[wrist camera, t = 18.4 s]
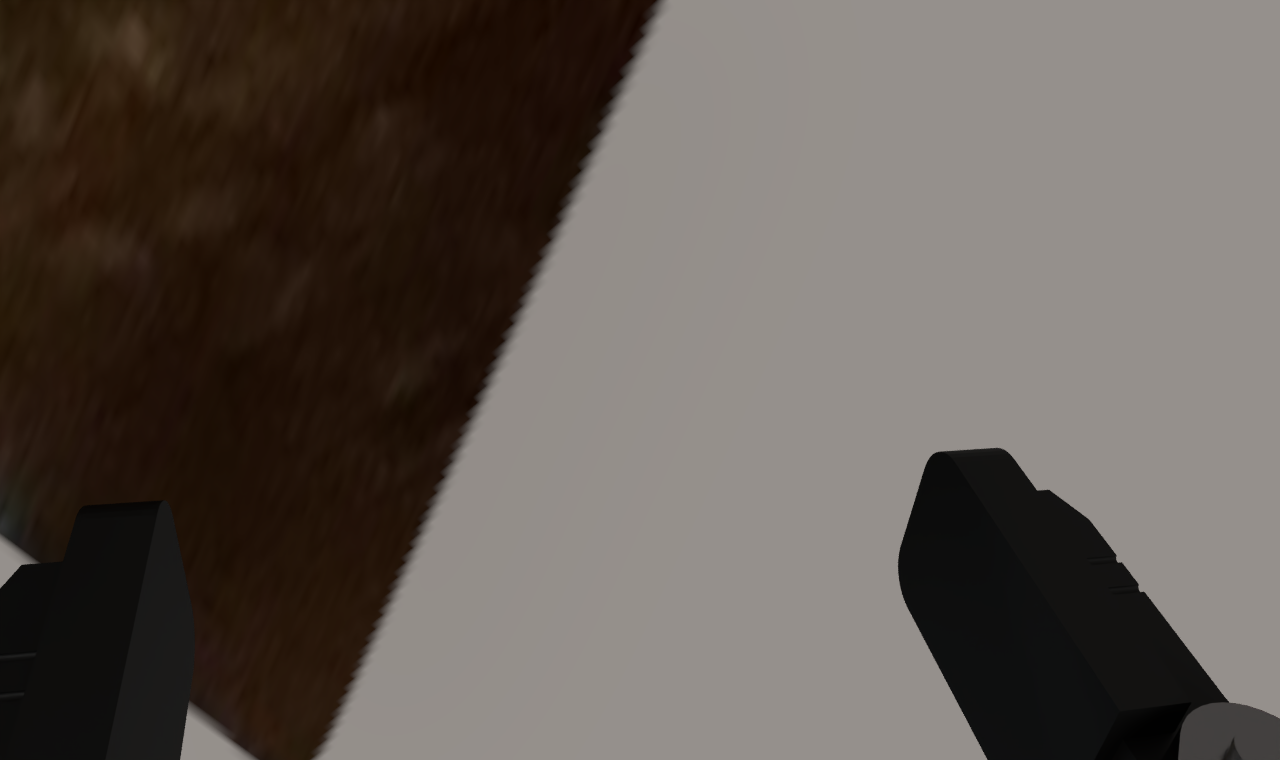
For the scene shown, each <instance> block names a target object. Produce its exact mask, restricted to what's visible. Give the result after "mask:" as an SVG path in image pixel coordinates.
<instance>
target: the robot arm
mask: <svg viewBox="0 0 1280 760" xmlns="http://www.w3.org/2000/svg"><path fill="white" fill-rule="evenodd" d="M898 573H899V581H900V587H901V591H902V595H903V598H904V600H905V603H906V605H907V607H908V609H909V611H910V613H911V615H912V617H913V619H914V621H915V622H916V625H917V626H918V628H919V630H920V632H921V634H922V636H923V638H924V640H925V642H926V643H927V645H928V647H929V649H930V651H931V653H932V655H933V657H934V659H935V661H936V662H937V664H938V666H939V668H940V670H941V672H942V674H943V676H944V678H945V680H946V682H947V683H948V685H949V687H950V689H951V691H952V693H953V695H954V697H955V699H956V700H957V702H958V704H959V706H960V708H961V710H962V712H963V714H964V716H965V718H966V719H967V721H968V723H969V725H970V727H971V729H972V731H973V733H974V735H975V737H976V739H977V741H978V742H979V744H980V746H981V748H982V750H983V752H984V754H985V756H986V758H987V760H1280V719H1279V718H1277V717H1276V716H1274V715H1271V714H1269V713H1267V712H1264V711H1262V710H1259V709H1256V708H1253V707H1250V706H1246V705H1241V704H1236V703H1229V701H1228V700H1227V699H1226V698H1225V697H1224V695H1223V694H1222V693H1221V692H1220V690H1219V689H1218V688H1217V686H1216V685H1215V684H1214V682H1213V681H1212V680H1211V678H1210V677H1209V676H1208V675H1207V673H1206V672H1205V671H1204V669H1203V668H1202V667H1201V665H1200V664H1199V663H1198V661H1197V660H1196V659H1195V657H1194V656H1193V655H1192V654H1191V652H1190V651H1189V650H1188V649H1187V647H1186V646H1185V644H1184V643H1183V642H1182V641H1181V639H1180V638H1179V637H1178V635H1177V634H1176V633H1175V631H1174V630H1173V629H1172V627H1171V626H1170V625H1169V623H1168V622H1167V621H1166V620H1165V618H1164V617H1163V616H1162V614H1161V613H1160V612H1159V611H1158V609H1157V608H1156V606H1155V605H1154V604H1153V602H1152V601H1151V600H1150V599H1149V597H1148V596H1147V595H1146V593H1145V592H1140V591H1139V589H1138V583H1137V582H1136V580H1135V579H1134V578H1133V577H1132V575H1131V574H1130V572H1129V571H1128V570H1127V569H1126V567H1125V566H1124V565H1123V564H1122V562H1121V563H1118V562H1117V561H1116V554H1115V553H1114V551H1113V550H1112V549H1111V547H1110V546H1109V545H1108V544H1107V542H1106V541H1105V540H1104V538H1103V537H1102V536H1101V534H1100V533H1099V532H1098V530H1097V529H1096V528H1095V527H1094V525H1093V524H1092V523H1091V522H1090V520H1089V519H1088V518H1086V517H1085V516H1084V515H1082V514H1081V513H1080V512H1078V511H1077V510H1075V509H1074V508H1073V507H1071V506H1070V505H1069V504H1067V503H1066V502H1065V501H1063V500H1062V499H1061V498H1059V497H1058V496H1057V495H1055V494H1054V493H1052V492H1051V491H1050V490H1041V491H1037V490H1036V488H1035V487H1034V486H1033V484H1032V483H1031V482H1030V480H1029V479H1028V478H1027V476H1026V475H1025V473H1024V472H1023V471H1022V469H1021V468H1020V467H1019V465H1018V464H1017V462H1016V461H1015V460H1014V459H1013V457H1012V456H1011V455H1010V454H1009V453H1008V452H1007V451H1005V450H1003V449H1001V448H990V449H974V450H960V451H944V452H936V453H935V454H933V455H932V456H931V457H930V458H929V460H928V462H927V464H926V466H925V469H924V472H923V475H922V479H921V482H920V485H919V489H918V492H917V496H916V498H915V502H914V505H913V508H912V511H911V515H910V518H909V521H908V524H907V528H906V531H905V534H904V537H903V541H902V544H901V547H900V552H899V559H898ZM194 650H195V639H194V621H193V612H192V606H191V601H190V596H189V592H188V587H187V582H186V577H185V572H184V568H183V563H182V558H181V553H180V549H179V544H178V539H177V534H176V530H175V525H174V520H173V516H172V512H171V509H170V506H169V504H168V503H167V501H164V500H163V501H148V502H133V503H117V504H102V505H87V506H83V507H82V508H81V509H80V510H79V512H78V514H77V517H76V520H75V523H74V527H73V530H72V533H71V537H70V540H69V543H68V547H67V550H66V554H65V557H64V560H63V562H54V563H40V564H27V565H21V566H20V567H19V569H18V570H17V571H16V572H15V573H14V574H13V575H12V576H11V577H10V578H9V579H8V581H7V582H6V583H5V584H4V585H3V586H2V587H1V588H0V760H180V756H181V750H182V743H183V736H184V729H185V723H186V716H187V709H188V703H189V696H190V689H191V682H192V676H193V667H194Z"/></svg>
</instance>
